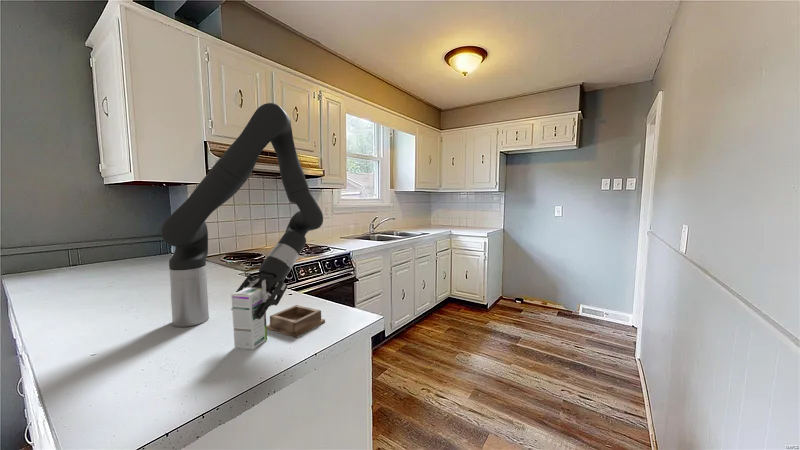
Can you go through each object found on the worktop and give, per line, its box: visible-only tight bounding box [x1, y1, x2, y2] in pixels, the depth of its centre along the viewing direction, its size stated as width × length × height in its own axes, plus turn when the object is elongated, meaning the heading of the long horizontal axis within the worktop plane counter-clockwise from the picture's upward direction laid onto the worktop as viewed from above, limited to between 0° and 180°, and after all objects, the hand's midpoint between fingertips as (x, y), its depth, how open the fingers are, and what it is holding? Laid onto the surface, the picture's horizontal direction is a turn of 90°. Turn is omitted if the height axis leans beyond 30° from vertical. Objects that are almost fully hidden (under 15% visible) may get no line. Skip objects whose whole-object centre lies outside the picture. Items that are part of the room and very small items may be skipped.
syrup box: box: [230, 288, 268, 351], centre depth 80 cm, size 6×6×14 cm
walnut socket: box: [266, 304, 326, 339], centre depth 92 cm, size 12×12×4 cm
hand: (245, 314), depth 79 cm, fingers open, 8 cm apart
